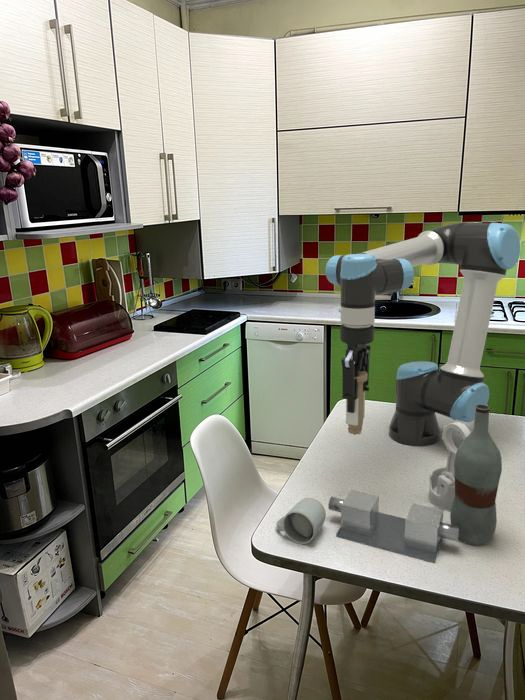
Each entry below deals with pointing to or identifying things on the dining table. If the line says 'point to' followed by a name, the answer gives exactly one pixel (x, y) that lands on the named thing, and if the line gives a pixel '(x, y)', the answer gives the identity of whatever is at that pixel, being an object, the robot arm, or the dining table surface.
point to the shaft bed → (392, 526)
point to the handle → (353, 428)
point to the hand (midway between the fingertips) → (355, 420)
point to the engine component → (446, 470)
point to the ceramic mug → (303, 521)
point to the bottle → (476, 483)
